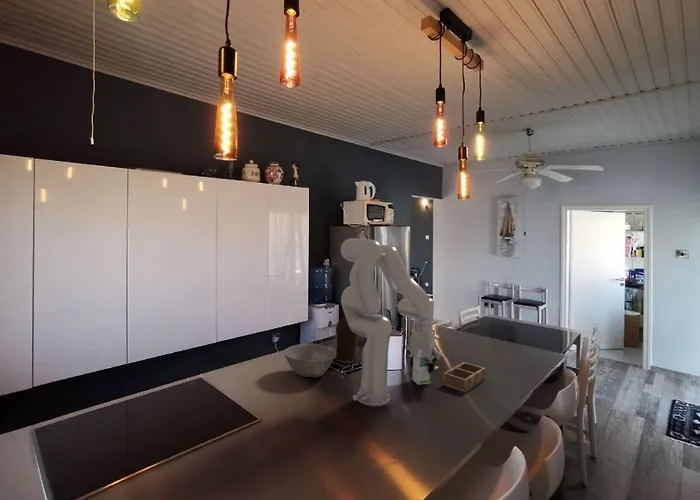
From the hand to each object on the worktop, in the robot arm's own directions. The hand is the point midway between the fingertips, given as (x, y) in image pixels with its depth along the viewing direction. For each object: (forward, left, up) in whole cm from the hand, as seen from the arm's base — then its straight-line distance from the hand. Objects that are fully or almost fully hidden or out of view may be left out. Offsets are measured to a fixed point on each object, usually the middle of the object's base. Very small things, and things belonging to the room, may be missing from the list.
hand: (421, 368), depth 158 cm
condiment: (+17, +7, -6) cm, 19 cm away
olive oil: (-4, +39, -6) cm, 40 cm away
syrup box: (0, 0, -6) cm, 6 cm away
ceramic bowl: (-28, +38, -6) cm, 48 cm away
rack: (+13, -13, -5) cm, 19 cm away
